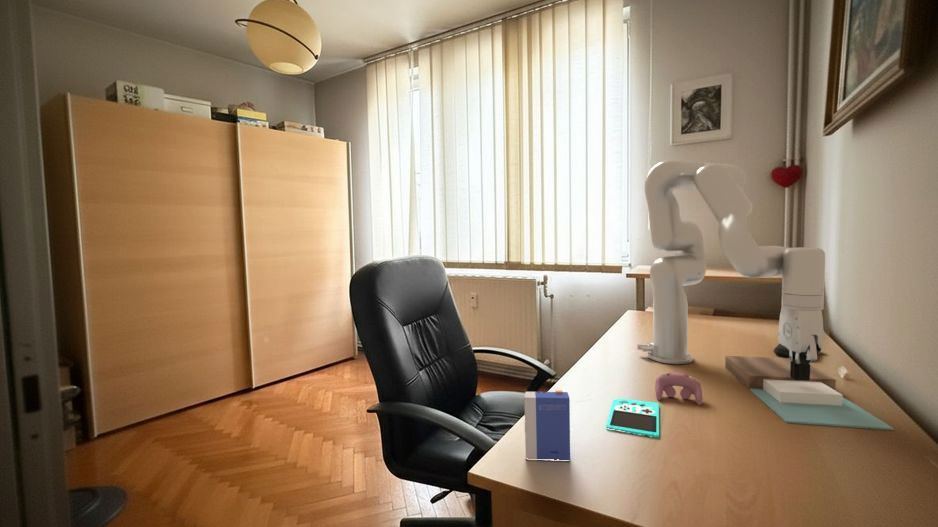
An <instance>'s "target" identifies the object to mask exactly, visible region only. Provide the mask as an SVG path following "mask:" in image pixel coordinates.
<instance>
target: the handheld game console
mask: <svg viewBox="0 0 938 527" xmlns="http://www.w3.org/2000/svg"><path fill="white" fill-rule="evenodd" d="M606 428H609V429H615V430H621V431H625V432H630V433H635V434H641V435H646V436H647V437H648V436H652V437H659V438H660V404H659V403H658V402H651V401H647V400H646V401H644V400H636V399H629V398H616V399H613V400H612V402H611V407H610V410H609V414H608V419H607V422H606V426H605V429H606ZM652 437H651V438H652Z"/></svg>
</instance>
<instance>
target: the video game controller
mask: <svg viewBox="0 0 938 527" xmlns="http://www.w3.org/2000/svg"><path fill="white" fill-rule="evenodd" d="M674 387H682V389H681V390H680V392H679V394H680V396H681V398H682V399H684V400H689V399H690V398H691V397H692V395H693V396H694V398H695V401H696V404H697V405H698V406H701V405H702V404H703V390H702V386H701V383H700V382H699V380H698V379H696V378H695V377H693V376H691V375H689V374H688V375H687V374H684V373H678V372H669V373H662V374H660V375H658V377H656V380H655V387H654V389H655V397H656V400H657V401H661V400H662V398H663V394H664V393H665V395H666V396H667V397H668V396H669V398H674V397H675V396H676V394H677V391H676V389H675V388H674Z"/></svg>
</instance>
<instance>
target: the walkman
mask: <svg viewBox="0 0 938 527" xmlns="http://www.w3.org/2000/svg"><path fill="white" fill-rule="evenodd" d="M570 403H571V400H570V395H569V392H568V391H563V390H558V389H557V390H555V391H525V394H524V396H523V414H524V438H525V441H524V442H525V459H526V458H528V459H554V460H557V459H559V460H570V461H571V420H570V417H571V416H570V415H571V412H570V411H571V410H570V407H571V406H570V405H571V404H570Z"/></svg>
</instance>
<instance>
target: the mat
mask: <svg viewBox="0 0 938 527" xmlns="http://www.w3.org/2000/svg"><path fill="white" fill-rule="evenodd" d="M749 390H750V391H751V393H752V394H753V395H754V396H756V397H757V398H758V399H759V400H760V401H761V402H763V404H765V405H766V406H767V407H768V408H770V410H771V411H773V412H774V413H775V414H776V415H777V416H778V417H780V419H781V420H782V421H784V422H785V423H787V424H798V425H799V424H800V425H814V426H815V425H816V426H826V427H827V426H828V427H829V426H830V427H840V428H841V427H842V428H857V429H858V428H859V429H869V428H870V430H872V429H873V430H883V431H885V430H886V431H894V430H895V429H894V427H892V426H890V425H889V424H888V423H886V422H885V421H882V420H881V419H879V418H877V417H876V415H875V416H874V415H873V414H872V413H870V412H868V411H866V410H865V409H863V408H862V407H860V406H859V405H857V404H855V403H853V402H852V401H850V400H849V399H847V398H845V397H844V396H843V404H842V406H840V405H821V404H803V403H785V402H779V401H778V400H777V399H775V398H774V397H773V396H771V395H770V394H769V393H768V392H766V391H765V390H764V389H752V388H750V389H749Z"/></svg>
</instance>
